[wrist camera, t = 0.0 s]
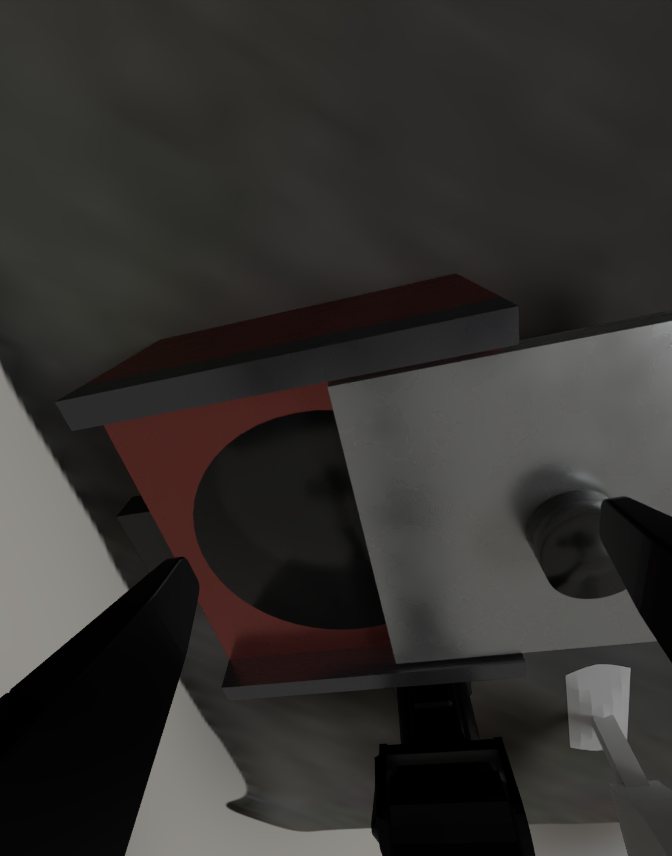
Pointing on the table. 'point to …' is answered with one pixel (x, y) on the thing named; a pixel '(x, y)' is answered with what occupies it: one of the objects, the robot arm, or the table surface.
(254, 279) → the table surface
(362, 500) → the lid
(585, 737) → the heart sculpture
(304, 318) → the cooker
